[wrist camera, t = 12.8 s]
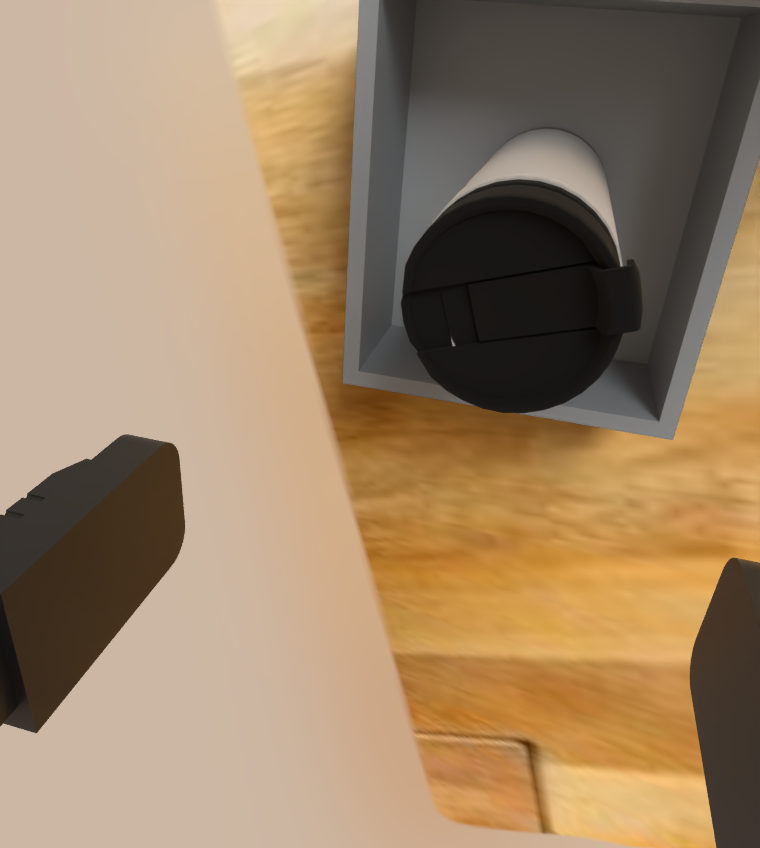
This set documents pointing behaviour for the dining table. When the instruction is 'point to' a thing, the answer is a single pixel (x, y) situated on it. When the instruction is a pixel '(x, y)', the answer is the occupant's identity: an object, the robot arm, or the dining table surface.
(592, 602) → the dining table surface
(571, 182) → the travel mug
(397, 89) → the crate
